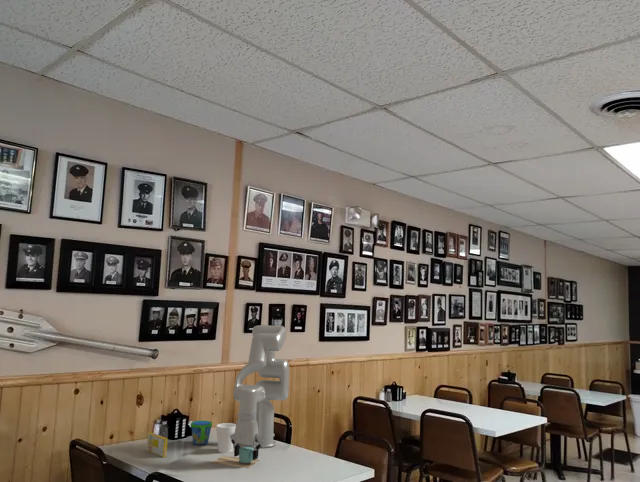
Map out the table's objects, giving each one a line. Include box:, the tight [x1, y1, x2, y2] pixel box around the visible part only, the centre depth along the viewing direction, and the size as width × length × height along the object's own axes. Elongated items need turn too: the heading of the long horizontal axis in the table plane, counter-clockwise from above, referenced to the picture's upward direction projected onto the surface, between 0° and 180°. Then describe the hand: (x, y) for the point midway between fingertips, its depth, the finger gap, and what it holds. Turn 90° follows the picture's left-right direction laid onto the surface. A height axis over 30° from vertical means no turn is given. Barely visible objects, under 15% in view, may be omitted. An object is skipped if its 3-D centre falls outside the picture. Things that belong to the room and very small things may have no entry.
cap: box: [238, 446, 254, 463], centre depth 229 cm, size 6×6×5 cm
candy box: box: [146, 431, 169, 458], centre depth 245 cm, size 16×2×8 cm, turn 45°
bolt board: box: [210, 455, 261, 469], centre depth 230 cm, size 12×18×6 cm, turn 73°
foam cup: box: [215, 422, 236, 454], centre depth 247 cm, size 10×9×13 cm
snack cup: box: [190, 420, 213, 446], centre depth 264 cm, size 16×10×10 cm
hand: (245, 457), depth 229 cm, fingers open, 9 cm apart
